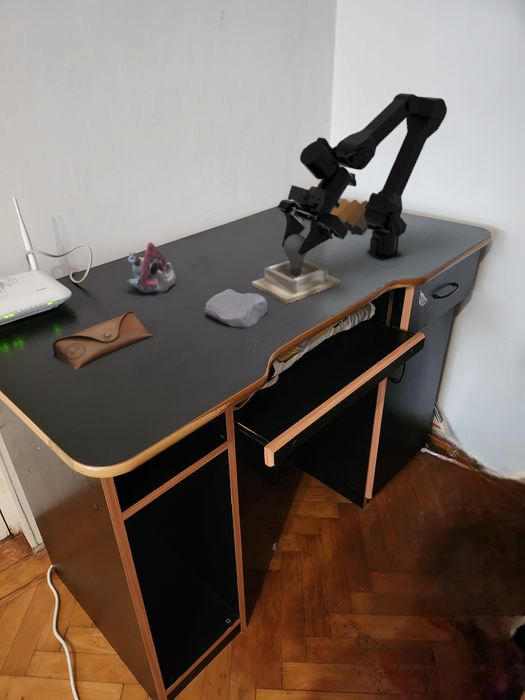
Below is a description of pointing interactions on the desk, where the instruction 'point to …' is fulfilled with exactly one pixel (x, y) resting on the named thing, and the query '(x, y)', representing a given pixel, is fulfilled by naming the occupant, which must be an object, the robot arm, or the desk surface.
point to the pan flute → (351, 215)
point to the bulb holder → (294, 281)
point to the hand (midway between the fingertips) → (291, 250)
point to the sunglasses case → (100, 340)
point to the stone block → (236, 308)
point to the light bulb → (294, 253)
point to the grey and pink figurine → (151, 271)
